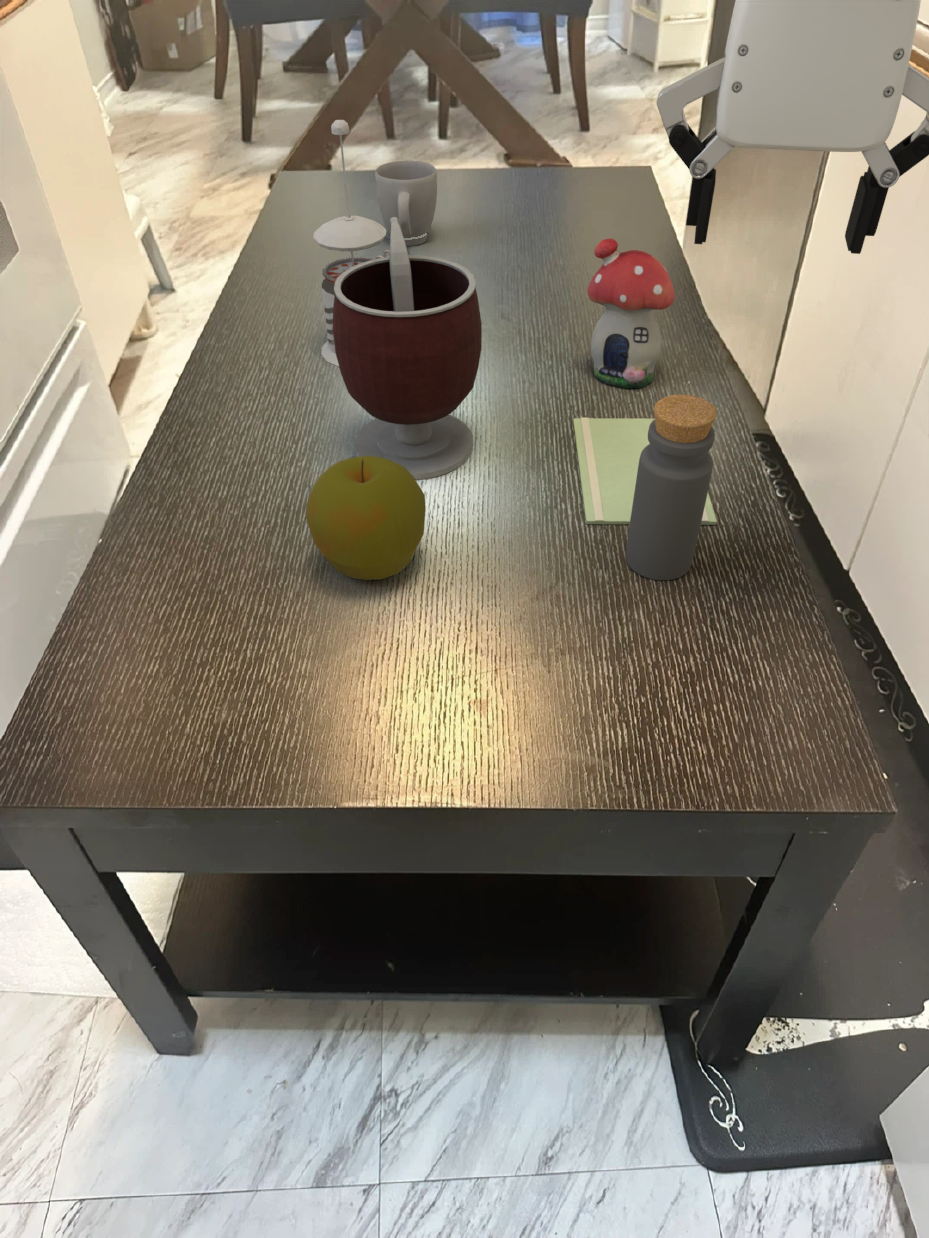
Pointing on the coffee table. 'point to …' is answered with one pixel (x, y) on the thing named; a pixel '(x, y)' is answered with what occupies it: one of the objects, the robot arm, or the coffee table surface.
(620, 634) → the coffee table surface
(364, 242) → the french press
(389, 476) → the apple
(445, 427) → the mate gourd
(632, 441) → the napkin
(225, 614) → the coffee table surface
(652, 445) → the bottle
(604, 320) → the decorative ornament
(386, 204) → the mug
